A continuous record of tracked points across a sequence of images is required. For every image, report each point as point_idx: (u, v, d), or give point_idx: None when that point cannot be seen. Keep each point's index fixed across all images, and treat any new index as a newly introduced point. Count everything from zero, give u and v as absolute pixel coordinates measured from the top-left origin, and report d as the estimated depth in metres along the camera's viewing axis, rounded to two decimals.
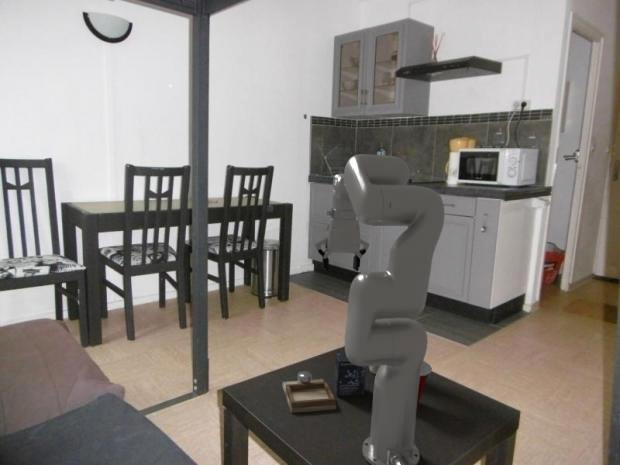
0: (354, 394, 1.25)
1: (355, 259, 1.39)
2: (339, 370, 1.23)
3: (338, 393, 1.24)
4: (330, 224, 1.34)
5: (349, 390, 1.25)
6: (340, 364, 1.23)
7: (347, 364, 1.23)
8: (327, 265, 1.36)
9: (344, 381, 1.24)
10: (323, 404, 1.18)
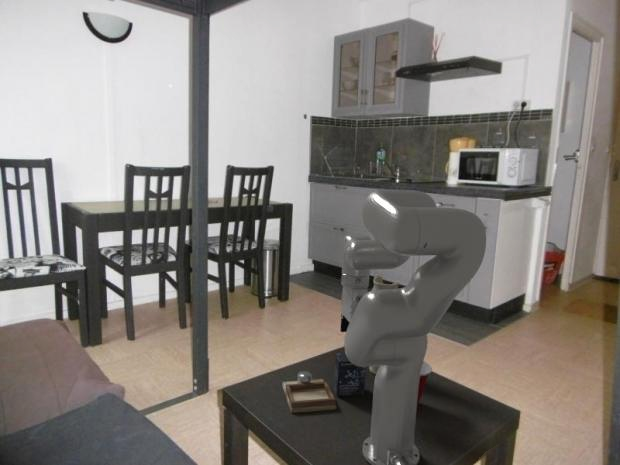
0: (354, 394, 1.25)
1: (348, 321, 1.29)
2: (339, 370, 1.23)
3: (338, 393, 1.24)
4: (365, 294, 1.19)
5: (349, 390, 1.25)
6: (340, 364, 1.23)
7: (347, 364, 1.23)
8: None
9: (344, 381, 1.24)
10: (323, 404, 1.18)
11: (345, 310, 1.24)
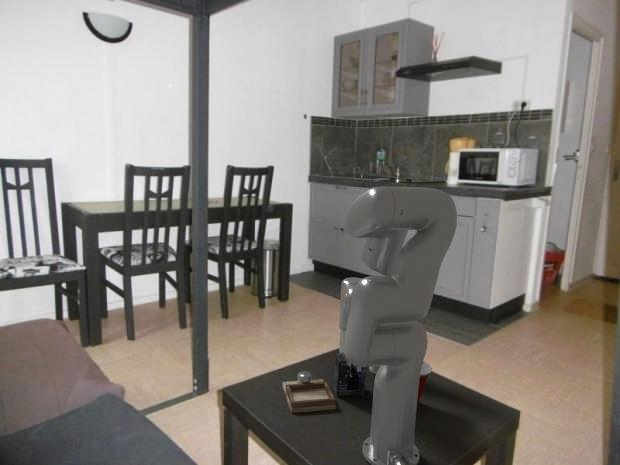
0: (354, 394, 1.25)
1: None
2: (339, 370, 1.23)
3: (338, 393, 1.24)
4: None
5: (349, 390, 1.25)
6: (340, 364, 1.23)
7: None
8: None
9: (344, 380, 1.24)
10: (323, 404, 1.18)
11: (342, 353, 1.25)
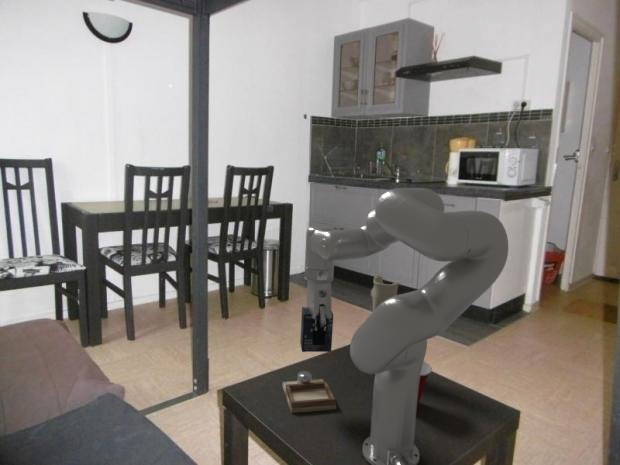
0: (320, 350, 1.18)
1: None
2: (304, 323, 1.16)
3: (303, 348, 1.17)
4: (328, 288, 1.13)
5: (315, 345, 1.17)
6: (305, 317, 1.15)
7: None
8: None
9: (309, 335, 1.16)
10: (323, 404, 1.18)
11: (308, 306, 1.18)
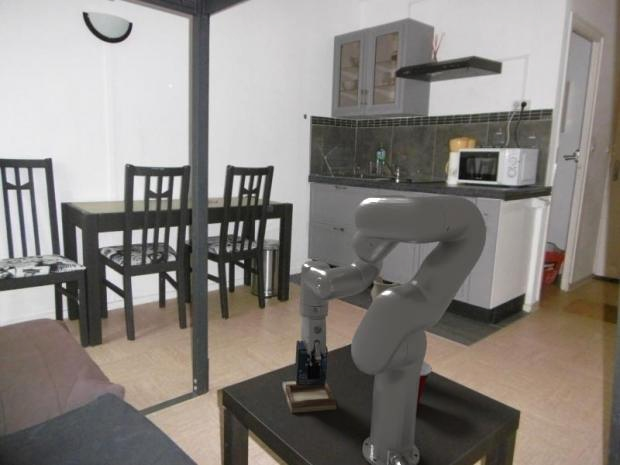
0: (315, 384, 1.19)
1: None
2: (299, 358, 1.17)
3: (298, 382, 1.18)
4: (323, 324, 1.14)
5: None
6: (300, 352, 1.16)
7: None
8: None
9: (304, 369, 1.18)
10: (323, 404, 1.18)
11: (303, 340, 1.19)
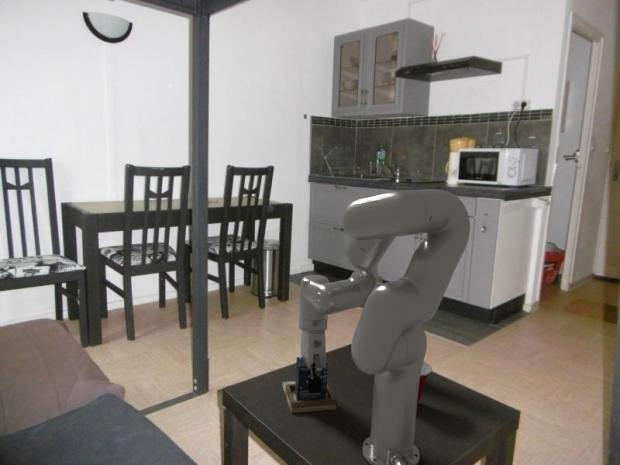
0: None
1: None
2: (299, 375, 1.17)
3: (298, 399, 1.18)
4: (322, 338, 1.15)
5: (310, 396, 1.19)
6: (300, 369, 1.17)
7: (308, 369, 1.17)
8: None
9: (304, 386, 1.18)
10: (323, 404, 1.18)
11: (303, 354, 1.19)
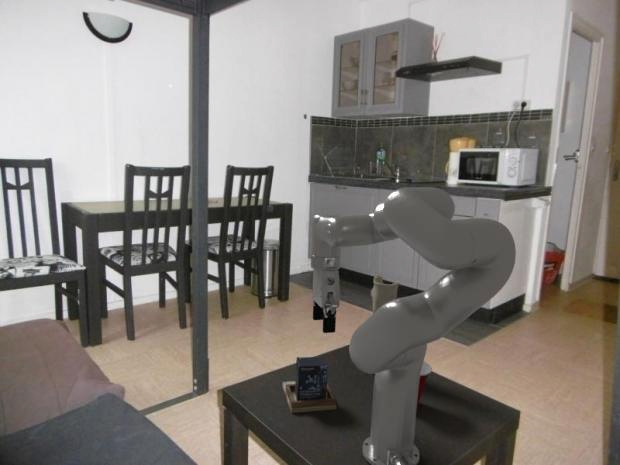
0: None
1: (320, 308, 1.22)
2: (299, 375, 1.17)
3: (298, 399, 1.18)
4: (336, 275, 1.12)
5: (310, 396, 1.19)
6: (300, 369, 1.17)
7: (308, 369, 1.17)
8: None
9: (304, 386, 1.18)
10: (323, 404, 1.18)
11: (316, 295, 1.16)
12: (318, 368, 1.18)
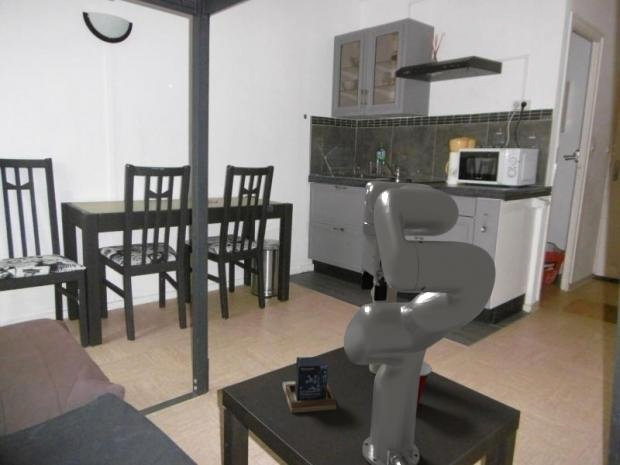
0: None
1: (369, 277, 1.21)
2: (299, 375, 1.17)
3: (298, 399, 1.18)
4: None
5: (310, 396, 1.19)
6: (300, 369, 1.17)
7: (308, 369, 1.17)
8: None
9: (304, 386, 1.18)
10: (323, 404, 1.18)
11: (366, 263, 1.16)
12: (318, 368, 1.18)
